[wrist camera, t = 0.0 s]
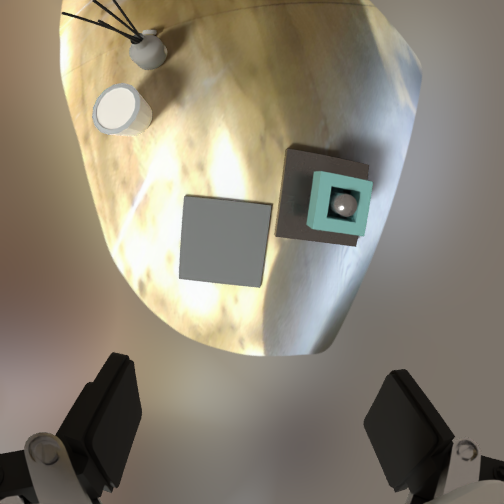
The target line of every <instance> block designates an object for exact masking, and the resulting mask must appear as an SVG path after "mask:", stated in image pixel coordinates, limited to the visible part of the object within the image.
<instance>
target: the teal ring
mask: <svg viewBox="0 0 504 504" xmlns="http://www.w3.org/2000/svg"><path fill="white" fill-rule="evenodd" d="M331 186H332V187H337V188H342V189H347V190H351V193H350V195H351V196H353V197H354V198H355V199H356V201H357V210H356V212H355V213H354V214H353V215H352V216H349V217H347V218H346V219H344V218H338V217H332V216H327V213H328V206H329V200H330V193H331ZM372 186H373V182H371V181H367V180H362V179H358V178H353V177H348V176H343V175H338V174H333V173H328V172H323V171H316V172H314V175H313V183H312V190H311V197H310V204H309V211H308V217H307V224H306V225H308V226H309V227H310V228H312V229H316V230H323V231H330V232H337V233H344V234H351V235H358V236H364V234H365V229H366V223H367V217H368V212H369V205H370V199H371V192H372Z"/></svg>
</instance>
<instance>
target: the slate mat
mask: <svg viewBox="0 0 504 504" xmlns="http://www.w3.org/2000/svg"><path fill="white" fill-rule="evenodd" d="M270 213H271V205H264V204H256V203H247V202H239V201H230V200H220V199H210V198H200V197H189V196H184V205H183V217H182V230H181V246H180V266H179V279H186V280H194V281H203V282H212V283H221V284H230V285H239V286H249V287H259V288H260V285H261V278H262V271H263V264H264V257H265V249H266V242H267V235H268V228H269V220H270Z"/></svg>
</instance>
